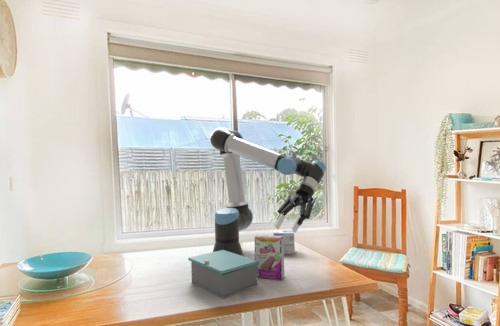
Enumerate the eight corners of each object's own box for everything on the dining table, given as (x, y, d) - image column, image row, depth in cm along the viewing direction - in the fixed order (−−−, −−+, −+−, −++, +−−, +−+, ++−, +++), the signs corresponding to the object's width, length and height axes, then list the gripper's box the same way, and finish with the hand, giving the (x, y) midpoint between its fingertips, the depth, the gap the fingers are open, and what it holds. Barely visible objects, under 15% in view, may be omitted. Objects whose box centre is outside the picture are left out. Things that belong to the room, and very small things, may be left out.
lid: (188, 260, 116) (188, 255, 116) (223, 252, 127) (223, 247, 127) (221, 274, 100) (221, 268, 100) (257, 263, 112) (257, 258, 112)
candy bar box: (254, 278, 119) (253, 236, 120) (258, 273, 124) (257, 234, 124) (282, 281, 116) (281, 238, 116) (284, 276, 121) (284, 235, 121)
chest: (191, 282, 116) (191, 261, 116) (224, 271, 127) (223, 252, 127) (223, 298, 101) (223, 275, 101) (257, 285, 112) (256, 263, 112)
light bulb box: (294, 250, 156) (294, 229, 156) (295, 254, 150) (294, 232, 150) (273, 250, 158) (273, 229, 158) (273, 254, 151) (273, 232, 151)
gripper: (330, 195, 132) (309, 238, 121) (292, 192, 147) (270, 230, 136) (323, 184, 128) (301, 227, 117) (284, 182, 144) (262, 220, 133)
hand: (284, 228), depth 127 cm, fingers open, 9 cm apart
